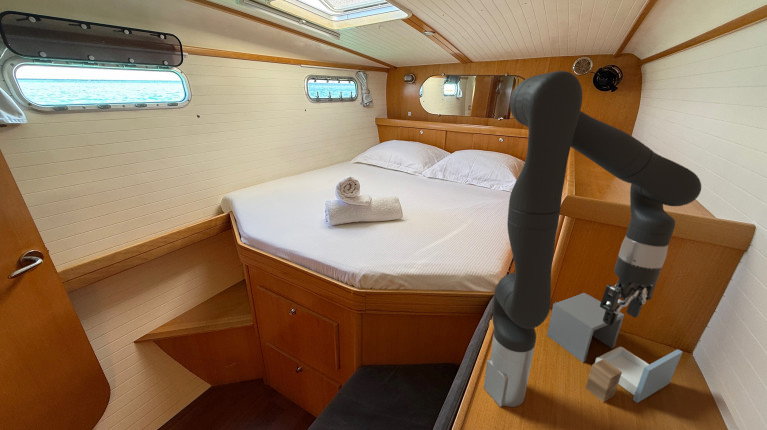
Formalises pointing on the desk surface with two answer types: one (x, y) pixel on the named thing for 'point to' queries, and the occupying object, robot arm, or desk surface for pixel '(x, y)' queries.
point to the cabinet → (581, 325)
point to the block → (603, 380)
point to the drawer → (642, 371)
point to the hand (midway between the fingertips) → (620, 319)
